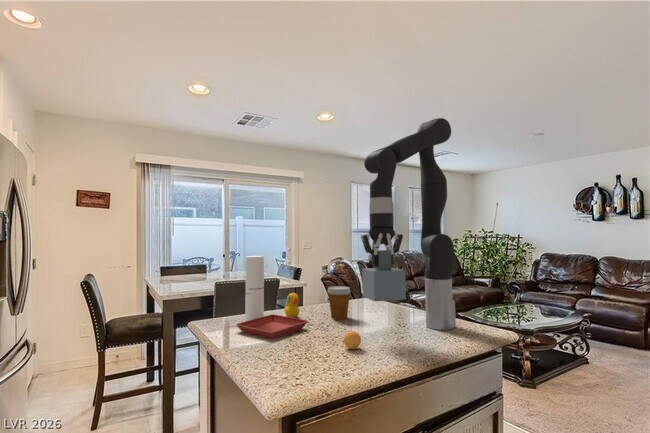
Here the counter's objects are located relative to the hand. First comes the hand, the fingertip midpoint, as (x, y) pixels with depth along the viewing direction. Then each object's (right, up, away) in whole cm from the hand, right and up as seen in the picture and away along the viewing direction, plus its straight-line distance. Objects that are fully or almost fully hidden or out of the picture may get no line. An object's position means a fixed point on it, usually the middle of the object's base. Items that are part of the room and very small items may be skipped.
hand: (382, 266), depth 110 cm
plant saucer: (-37, -25, +12) cm, 46 cm away
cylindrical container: (-46, -25, +27) cm, 59 cm away
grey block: (0, -10, -1) cm, 10 cm away
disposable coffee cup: (-13, -25, +30) cm, 41 cm away
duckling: (-31, -25, +31) cm, 51 cm away
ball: (-10, -20, -9) cm, 24 cm away
